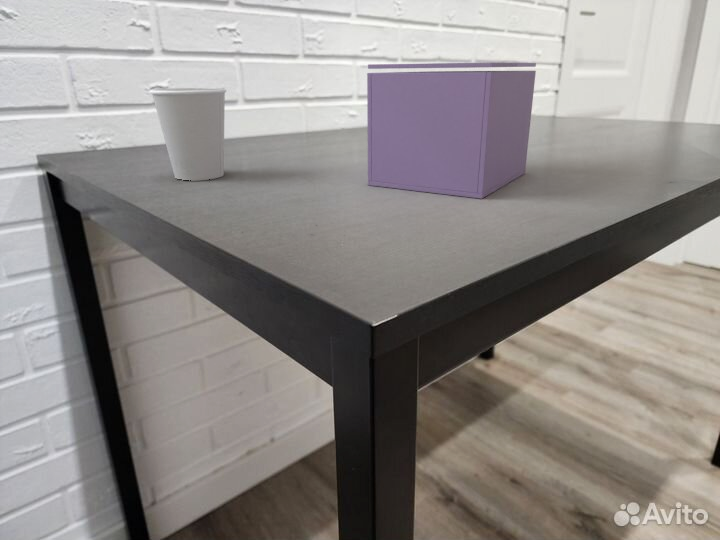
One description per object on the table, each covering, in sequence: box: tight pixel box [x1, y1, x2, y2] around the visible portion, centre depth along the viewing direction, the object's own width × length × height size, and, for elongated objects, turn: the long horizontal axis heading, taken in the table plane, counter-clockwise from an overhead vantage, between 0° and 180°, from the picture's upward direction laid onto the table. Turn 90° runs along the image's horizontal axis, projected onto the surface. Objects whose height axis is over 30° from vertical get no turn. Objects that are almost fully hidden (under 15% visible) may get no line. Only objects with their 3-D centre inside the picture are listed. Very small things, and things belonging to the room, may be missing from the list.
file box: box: [366, 61, 537, 200], centre depth 57 cm, size 15×13×12 cm
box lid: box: [472, 62, 537, 68], centre depth 57 cm, size 7×13×1 cm, turn 58°
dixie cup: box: [149, 86, 227, 182], centre depth 60 cm, size 8×8×10 cm
